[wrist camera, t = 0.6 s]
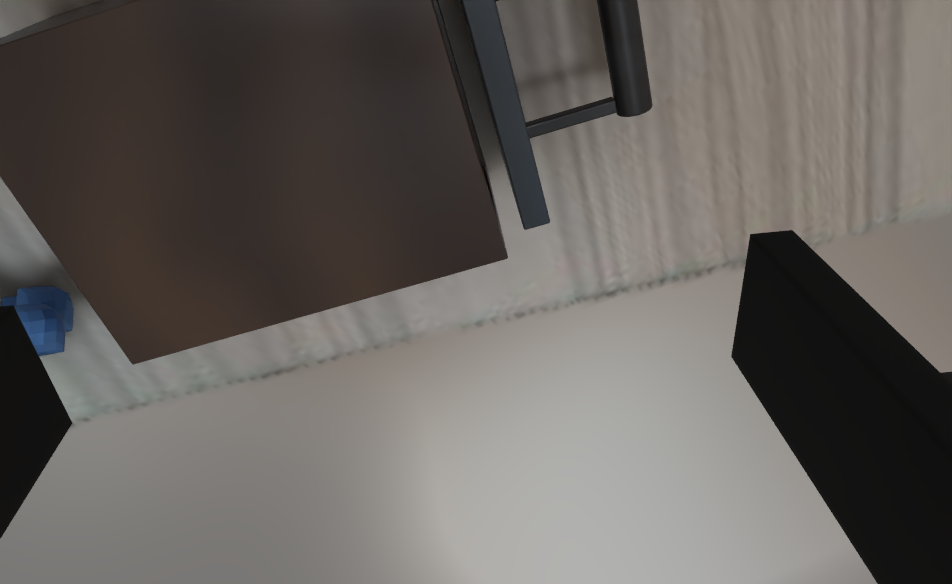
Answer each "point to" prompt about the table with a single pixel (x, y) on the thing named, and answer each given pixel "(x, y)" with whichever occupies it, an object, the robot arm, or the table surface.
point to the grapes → (44, 316)
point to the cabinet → (243, 159)
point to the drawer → (514, 133)
